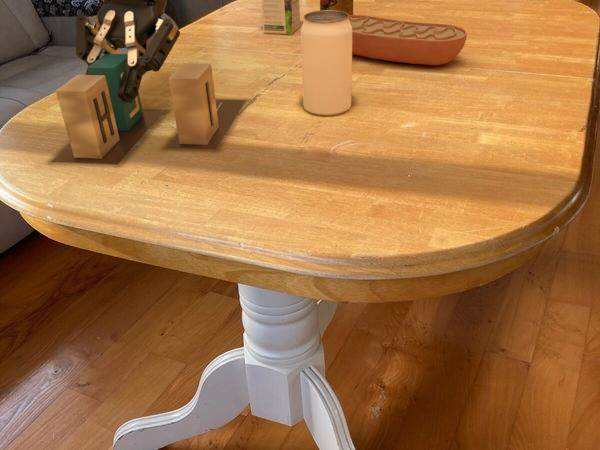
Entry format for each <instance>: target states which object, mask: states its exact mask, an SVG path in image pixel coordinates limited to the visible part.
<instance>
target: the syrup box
mask: <svg viewBox="0 0 600 450" xmlns="http://www.w3.org/2000/svg"><path fill="white" fill-rule="evenodd" d="M260 2H261V17H262V19H261V20H262V32H263V34H277V35H288V36H289V35H290V36H292V34H293V33H295V32H296V31H297V30H298V29H299V28H301V13H300V12H301V11H300V9H301V8H300V0H261V1H260Z"/></svg>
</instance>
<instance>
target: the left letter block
mask: <svg viewBox="0 0 600 450" xmlns="http://www.w3.org/2000/svg"><path fill="white" fill-rule="evenodd" d="M55 94H56V97H57V101H58V105H59V108H60V112H61V116H62V120H63V123H64V126H65V131H66V133H67V136H68V141H69V144H68V145H67V146H66V147H65V148H64V149H63V150H61V152H60V153H58V155H56V156H55V157H54V158H53V159H52V160H51V163H72V164H91V165H92V164H94V165H116V166H117V165H119V164H120V163H121V162H122V160H123V159H124V158H125V157H126V156H127V155H128V154H129V152H131V150H132V149H133V148H134V147H135V145H136V144H137V143H138V142H139V141H140V140H141V139H142V137H144V135H145V134H146V133H147V132H148V131H149V130H150V129H151V128H152V126H153V125H154V124H155V123H156V122H157V121H158V120H159V119H160V118H161V116H162V115H163V114H164V113H165V110H142V111H143V116H142V117H141V118H140V119H139V120H138V121H137V122H136V123H135V124H134V125H133V126H132V127H131V129H130V130H129V131H118V130H117V126H116V121H115V117H114V112H113V108H112V104H111V99H110V95H109V91H108V86H107V82H106V77H105V75H86V74H76V75H75V76H74V77H73V78H70V80H68V81H67V82H66V83H64V84H62V86H60V87H59V88H57V89H55Z"/></svg>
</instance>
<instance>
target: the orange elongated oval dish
mask: <svg viewBox="0 0 600 450" xmlns="http://www.w3.org/2000/svg"><path fill="white" fill-rule="evenodd" d="M348 19H349V22H350V24H351V26H352V55H355V56H359V57H364V58H369V59H374V60H380V61H387V62H394V63H401V64H402V63H403V64H413V65H422V66H423V65H424V66H440V65H445V64H447V63H450V62H451V61H453V60H454V59H455V58H456V57H457V56H458V55H459V54H460V53H461V52H462V50H463V49H464V47H465V45H466V41H467V36H468V32H467V30H466V29H465V28H463V27H461V26H458V25H452V24H445V23H431V22H418V21H408V20H399V19H393V18H392V19H391V18H384V17H377V16H371V15H364V14H353V15H349V18H348Z"/></svg>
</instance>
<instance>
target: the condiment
mask: <svg viewBox="0 0 600 450" xmlns="http://www.w3.org/2000/svg"><path fill="white" fill-rule="evenodd" d="M321 10H336V11H342V12H346V13H348V14H349V15H354V0H319V11H321Z"/></svg>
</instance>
